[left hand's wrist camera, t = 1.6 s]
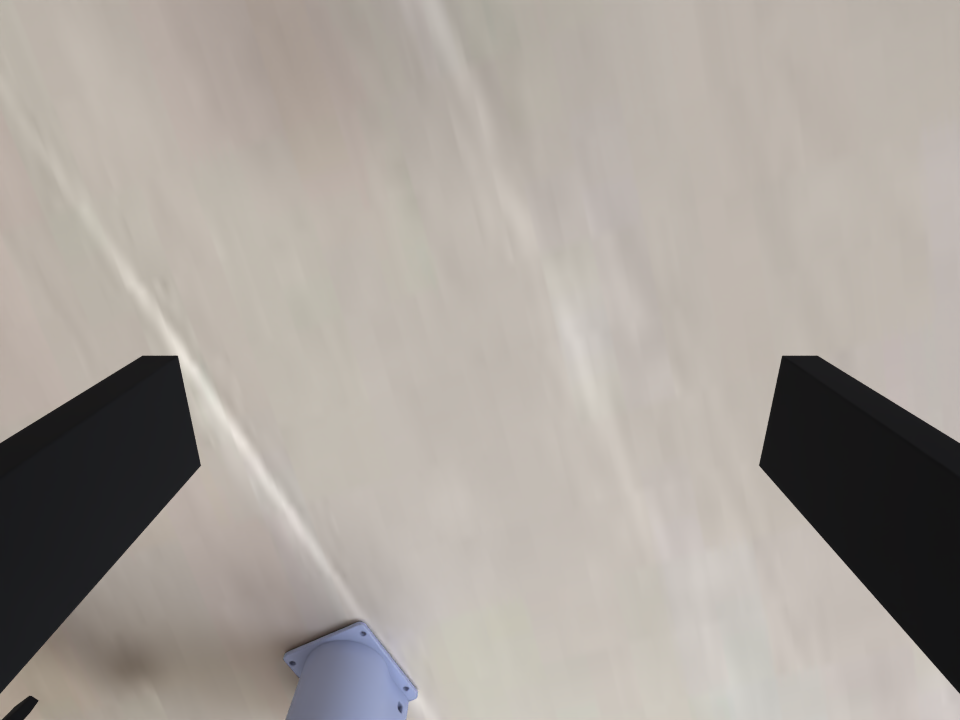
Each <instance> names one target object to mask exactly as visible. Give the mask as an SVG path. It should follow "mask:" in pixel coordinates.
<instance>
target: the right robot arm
mask: <svg viewBox="0 0 960 720" xmlns="http://www.w3.org/2000/svg"><path fill="white" fill-rule="evenodd" d="M362 631H364V632H362ZM283 659H284V661H285V662H286V663H287V665H288V666H289V667H290V668H291V669H292V670H293V671H294V673H295V674H296V675H297V676H298V677H299V678H300V679H299V682H298V685H297V687H296V690H295V693H294V696H293V699H292V702H291V705H290V708H289V711H288V714H287V716H286V719H285V720H406V718H407V710H408V703H409V701H412V700H414V699H416V698H417V696H418V691H417V690H416V688H415V687H414V686H413V684H412V683H411V682H410V681H409V679H408V678H407V677H406V675H405V674H404V673H403V672H402V670H401V669H400V668H399V666H398V665H397V664H396V663H395V661H394V660H393V659H392V657H391V656H390V655H389V653H388V652H387V651H386V650H385V648H384V647H383V646H382V644H381V643H380V642H379V641H378V639H377V638H376V637H375V635H374V634H373V633H372V632H371V630H370V629H369V628H368V626H367V625H366V624H365V623H364V622H357V623H354V624H352V625H349V626H347V627H345V628H342V629H340V630H338V631H335V632H333V633H331V634H328V635H326V636H324V637H321V638H319V639H316V640H314V641H312V642H309V643H307V644H305V645H302V646H300V647H298V648H295V649H293V650H291V651H288V652H286V653H285V655H284V657H283ZM405 686H407V687H405ZM37 702H38V700H37V699H35V698H34V697H32V696H28V697H27V698H26V699H24V700H23V701H22V702H20V703H19V704H18V705H16V706H15V707H14V708H13V709H12V710H11V711H10V712H9V713H8V714H7V715H6V716H5V717H4V718H3V719H2V720H24V719H25V718H26V716H27V715H28V714H29V713H30V712H31V711H32V709H33V708H34V706H35V705H36V704H37Z"/></svg>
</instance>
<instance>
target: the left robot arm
mask: <svg viewBox="0 0 960 720" xmlns="http://www.w3.org/2000/svg"><path fill="white" fill-rule="evenodd" d="M200 466H201V464H200V459H199V454H198V450H197V445H196V440H195V435H194V431H193V426H192V421H191V416H190V412H189V407H188V402H187V397H186V393H185V388H184V383H183V378H182V373H181V369H180V364H179V359H178V356H141V357H140V358H138V359H136V360H135V361H133V362H132V363H130V364H128V365H127V366H125V367H123V368H122V369H120V370H119V371H117V372H115V373H114V374H112V375H110V376H109V377H107V378H106V379H104V380H102V381H101V382H99V383H97V384H96V385H94V386H93V387H91V388H89V389H88V390H86V391H84V392H83V393H81V394H80V395H78V396H76V397H75V398H73V399H71V400H70V401H68V402H67V403H65V404H63V405H62V406H60V407H58V408H57V409H55V410H54V411H52V412H50V413H49V414H47V415H45V416H44V417H42V418H41V419H39V420H37V421H36V422H34V423H32V424H31V425H29V426H28V427H26V428H24V429H23V430H21V431H19V432H18V433H16V434H14V435H13V436H11V437H10V438H8V439H6V440H5V441H3V442H1V443H0V693H1V692H2V691H3V690H4V689H5V688H6V686H7V685H8V684H9V683H10V682H11V681H12V680H13V679H14V677H15V676H16V675H17V674H18V673H19V672H20V671H21V669H22V668H23V667H24V666H25V665H26V664H27V663H28V661H29V660H30V659H31V658H32V657H33V656H34V655H35V654H36V652H37V651H38V650H39V649H40V648H41V647H42V646H43V644H44V643H45V642H46V641H47V640H48V639H49V638H50V636H51V635H52V634H53V633H54V632H55V631H56V630H57V629H58V627H59V626H60V625H61V624H62V623H63V622H64V621H65V619H66V618H67V617H68V616H69V615H70V614H71V613H72V611H73V610H74V609H75V608H76V607H77V606H78V605H79V604H80V602H81V601H82V600H83V599H84V598H85V597H86V596H87V594H88V593H89V592H90V591H91V590H92V589H93V588H94V586H95V585H96V584H97V583H98V582H99V581H100V580H101V579H102V577H103V576H104V575H105V574H106V573H107V572H108V571H109V569H110V568H111V567H112V566H113V565H114V564H115V563H116V561H117V560H118V559H119V558H120V557H121V556H122V555H123V553H124V552H125V551H126V550H127V549H128V548H129V547H130V546H131V544H132V543H133V542H134V541H135V540H136V539H137V538H138V536H139V535H140V534H141V533H142V532H143V531H144V530H145V528H146V527H147V526H148V525H149V524H150V523H151V522H152V521H153V519H154V518H155V517H156V516H157V515H158V514H159V513H160V511H161V510H162V509H163V508H164V507H165V506H166V505H167V503H168V502H169V501H170V500H171V499H172V498H173V497H174V496H175V494H176V493H177V492H178V491H179V490H180V489H181V488H182V486H183V485H184V484H185V483H186V482H187V481H188V480H189V478H190V477H191V476H192V475H193V474H194V473H195V472H196V471H197V469H198V468H199V467H200ZM759 466H760V467H761V468H762V469H763V471H764V472H765V473H766V474H767V475H768V476H769V477H770V478H771V480H772V481H773V482H774V483H775V484H776V485H777V486H778V488H779V489H780V490H781V491H782V492H783V493H784V494H785V496H786V497H787V498H788V499H789V500H790V501H791V502H792V503H793V505H794V506H795V507H796V508H797V509H798V510H799V511H800V513H801V514H802V515H803V516H804V517H805V518H806V519H807V521H808V522H809V523H810V524H811V525H812V526H813V527H814V528H815V530H816V531H817V532H818V533H819V534H820V535H821V536H822V538H823V539H824V540H825V541H826V542H827V543H828V544H829V546H830V547H831V548H832V549H833V550H834V551H835V552H836V553H837V555H838V556H839V557H840V558H841V559H842V560H843V561H844V563H845V564H846V565H847V566H848V567H849V568H850V569H851V571H852V572H853V573H854V574H855V575H856V576H857V577H858V579H859V580H860V581H861V582H862V583H863V584H864V585H865V586H866V588H867V589H868V590H869V591H870V592H871V593H872V594H873V596H874V597H875V598H876V599H877V600H878V601H879V602H880V604H881V605H882V606H883V607H884V608H885V609H886V610H887V611H888V613H889V614H890V615H891V616H892V617H893V618H894V619H895V621H896V622H897V623H898V624H899V625H900V626H901V627H902V629H903V630H904V631H905V632H906V633H907V634H908V635H909V636H910V638H911V639H912V640H913V641H914V642H915V643H916V644H917V646H918V647H919V648H920V649H921V650H922V651H923V652H924V654H925V655H926V656H927V657H928V658H929V659H930V660H931V661H932V663H933V664H934V665H935V666H936V667H937V668H938V669H939V671H940V672H941V673H942V674H943V675H944V676H945V677H946V679H947V680H948V681H949V682H950V683H951V684H952V685H953V687H954V688H955V689H956V690H957V691H958V692H959V693H960V443H959V442H957V441H955V440H954V439H952V438H950V437H949V436H947V435H945V434H944V433H942V432H941V431H939V430H937V429H936V428H934V427H932V426H931V425H929V424H928V423H926V422H924V421H923V420H921V419H919V418H918V417H916V416H915V415H913V414H911V413H910V412H908V411H906V410H905V409H903V408H902V407H900V406H898V405H897V404H895V403H893V402H892V401H890V400H889V399H887V398H885V397H884V396H882V395H880V394H879V393H877V392H876V391H874V390H872V389H871V388H869V387H867V386H866V385H864V384H863V383H861V382H859V381H858V380H856V379H854V378H853V377H851V376H850V375H848V374H846V373H845V372H843V371H841V370H840V369H838V368H837V367H835V366H833V365H832V364H830V363H828V362H827V361H825V360H824V359H822V358H820V357H819V356H782V359H781V364H780V369H779V373H778V378H777V383H776V388H775V393H774V397H773V402H772V407H771V412H770V416H769V421H768V426H767V431H766V435H765V440H764V445H763V450H762V454H761V459H760V464H759Z"/></svg>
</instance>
